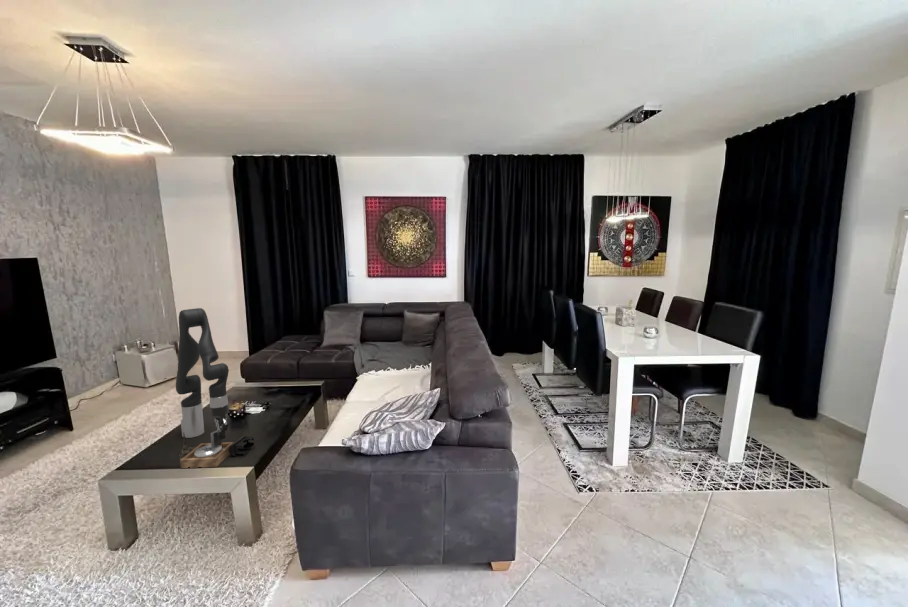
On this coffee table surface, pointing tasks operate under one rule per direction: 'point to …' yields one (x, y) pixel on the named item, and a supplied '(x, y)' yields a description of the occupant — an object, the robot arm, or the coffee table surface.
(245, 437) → the end cap
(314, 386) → the coffee table surface
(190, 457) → the wooden square tray
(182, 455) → the eiffel tower figurine
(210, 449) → the dial
